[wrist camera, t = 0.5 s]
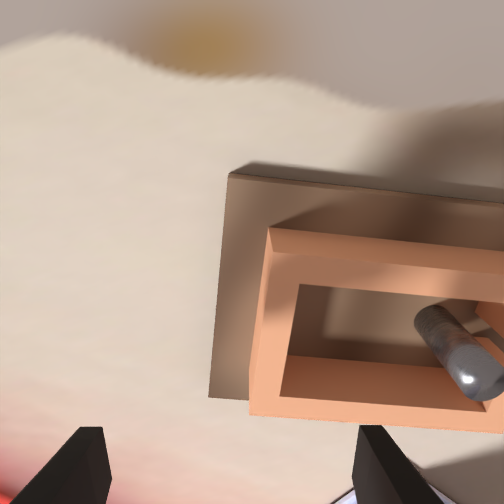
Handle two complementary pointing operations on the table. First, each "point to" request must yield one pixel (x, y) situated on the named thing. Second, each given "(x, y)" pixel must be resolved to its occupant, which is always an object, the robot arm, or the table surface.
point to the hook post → (460, 354)
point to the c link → (359, 372)
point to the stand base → (335, 298)
